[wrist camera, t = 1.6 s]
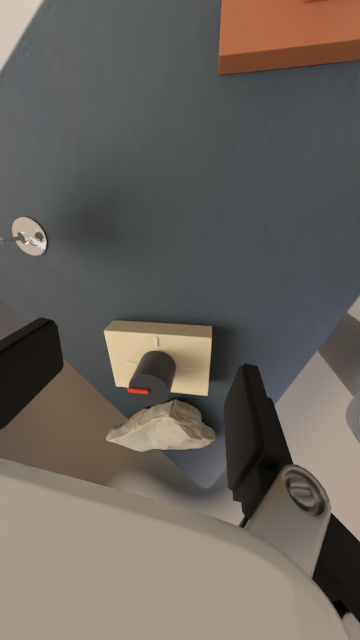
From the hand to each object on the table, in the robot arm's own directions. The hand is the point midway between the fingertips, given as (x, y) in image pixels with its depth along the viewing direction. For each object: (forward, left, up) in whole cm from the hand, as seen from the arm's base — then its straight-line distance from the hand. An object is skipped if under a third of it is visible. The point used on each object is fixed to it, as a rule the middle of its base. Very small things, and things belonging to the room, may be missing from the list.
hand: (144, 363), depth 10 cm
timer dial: (+3, +11, -13) cm, 17 cm away
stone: (+5, +27, -16) cm, 32 cm away
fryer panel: (+3, +11, -16) cm, 20 cm away
